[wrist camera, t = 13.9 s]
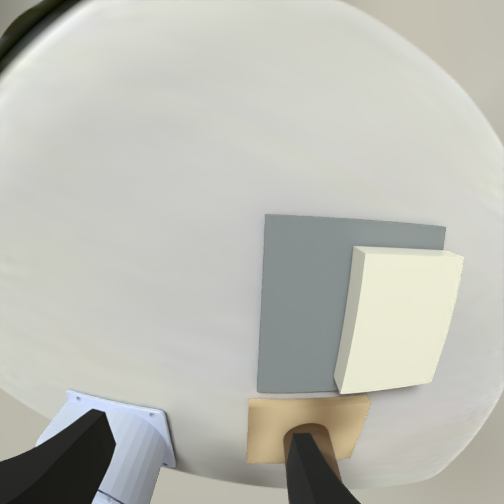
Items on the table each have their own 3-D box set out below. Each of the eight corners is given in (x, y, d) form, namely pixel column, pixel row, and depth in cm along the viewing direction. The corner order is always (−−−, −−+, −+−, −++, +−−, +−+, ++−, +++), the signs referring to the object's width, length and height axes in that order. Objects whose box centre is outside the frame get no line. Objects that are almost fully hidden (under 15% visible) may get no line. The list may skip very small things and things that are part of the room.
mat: (256, 388, 19) (256, 392, 19) (265, 214, 17) (265, 214, 16) (408, 379, 19) (410, 382, 19) (442, 226, 17) (445, 227, 16)
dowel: (281, 452, 20) (287, 522, 13) (284, 424, 19) (292, 500, 12) (325, 449, 20) (340, 515, 13) (332, 421, 19) (353, 492, 12)
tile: (340, 394, 16) (430, 382, 16) (365, 253, 15) (464, 257, 14) (332, 374, 19) (417, 366, 19) (352, 245, 17) (444, 249, 17)
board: (246, 454, 21) (246, 463, 20) (249, 398, 20) (248, 407, 19) (347, 450, 21) (350, 457, 20) (367, 394, 20) (371, 402, 19)
